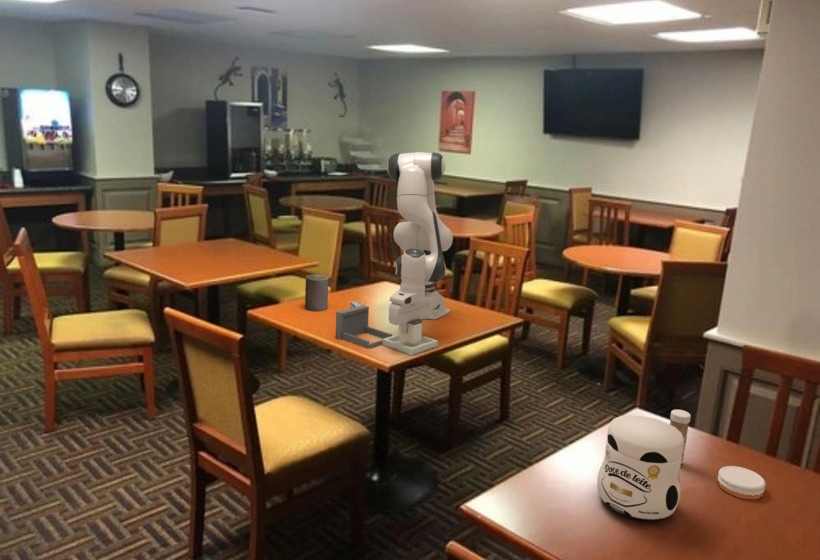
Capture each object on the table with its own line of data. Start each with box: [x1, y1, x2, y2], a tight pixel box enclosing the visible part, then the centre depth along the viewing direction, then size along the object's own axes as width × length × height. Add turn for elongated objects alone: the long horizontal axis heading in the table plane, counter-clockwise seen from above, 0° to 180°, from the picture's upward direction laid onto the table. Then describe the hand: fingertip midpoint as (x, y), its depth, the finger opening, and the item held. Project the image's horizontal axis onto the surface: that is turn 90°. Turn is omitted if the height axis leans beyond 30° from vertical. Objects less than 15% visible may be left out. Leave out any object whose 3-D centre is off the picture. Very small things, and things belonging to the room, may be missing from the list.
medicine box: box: [349, 301, 366, 308], centre depth 262 cm, size 8×4×9 cm, turn 23°
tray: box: [381, 333, 439, 357], centre depth 241 cm, size 14×14×2 cm
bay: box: [335, 304, 393, 349], centre depth 245 cm, size 14×17×10 cm
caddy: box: [398, 319, 424, 344], centre depth 240 cm, size 5×7×8 cm, turn 49°
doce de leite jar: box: [596, 414, 684, 522], centre depth 145 cm, size 17×17×18 cm
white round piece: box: [717, 465, 766, 496], centre depth 156 cm, size 10×10×4 cm
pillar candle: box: [304, 273, 330, 312], centre depth 281 cm, size 10×10×15 cm
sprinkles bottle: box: [669, 409, 692, 462], centre depth 165 cm, size 5×5×13 cm
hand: (410, 331), depth 240 cm, fingers closed on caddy, 4 cm apart
